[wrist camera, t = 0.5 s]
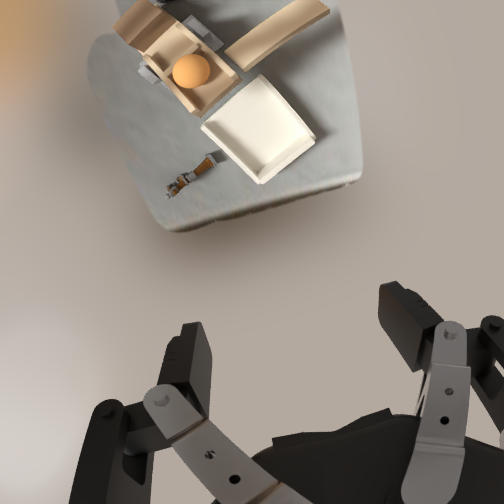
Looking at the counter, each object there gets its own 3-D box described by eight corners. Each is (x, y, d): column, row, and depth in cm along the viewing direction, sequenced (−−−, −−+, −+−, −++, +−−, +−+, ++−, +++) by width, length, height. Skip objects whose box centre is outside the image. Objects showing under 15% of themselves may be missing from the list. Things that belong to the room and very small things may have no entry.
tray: (201, 124, 34) (199, 130, 32) (259, 74, 31) (263, 75, 28) (256, 177, 40) (259, 187, 37) (311, 133, 36) (319, 140, 33)
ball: (169, 72, 23) (160, 72, 20) (194, 48, 22) (189, 45, 19) (193, 94, 25) (187, 96, 22) (218, 71, 24) (216, 70, 21)
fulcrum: (140, 64, 28) (123, 65, 23) (191, 15, 25) (184, 5, 20) (172, 91, 31) (161, 97, 26) (224, 44, 28) (224, 40, 23)
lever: (128, 37, 25) (108, 27, 22) (232, -47, 19) (220, -65, 16) (200, 117, 26) (181, 109, 22) (333, 16, 20) (332, -6, 16)
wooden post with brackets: (158, 188, 38) (162, 194, 35) (201, 152, 39) (211, 154, 35) (165, 197, 39) (171, 204, 36) (208, 162, 40) (218, 165, 36)
